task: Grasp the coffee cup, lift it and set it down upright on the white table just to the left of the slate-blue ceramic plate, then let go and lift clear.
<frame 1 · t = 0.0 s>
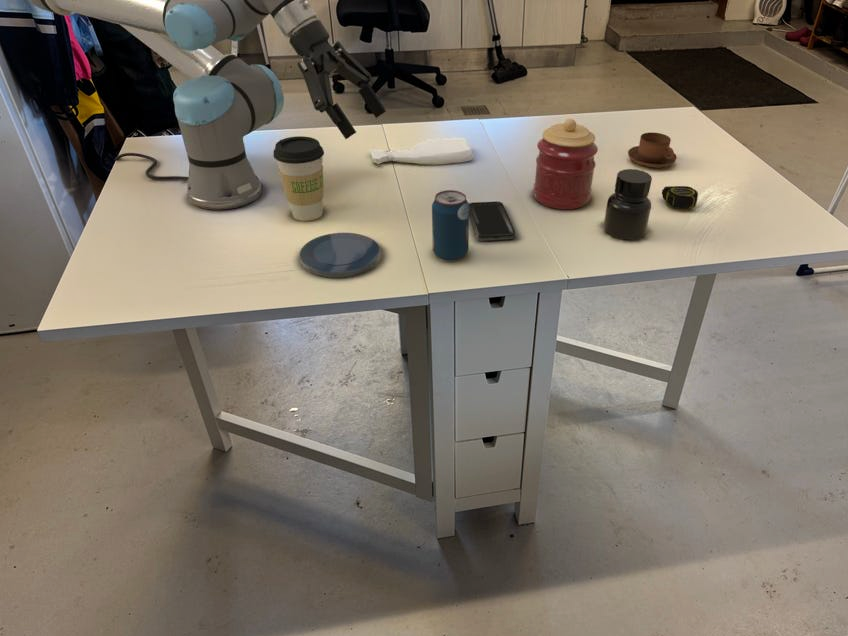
hand: (366, 125, 138), 15 cm above the table, tool tilted 35°, fingers open, 13 cm apart
kitchen canister: (561, 198, 149), on the table
tape measure: (676, 205, 148), on the table
phone: (489, 223, 138), on the table
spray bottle: (421, 158, 164), on the table
ink bottle: (624, 231, 138), on the table
soda can: (450, 255, 128), on the table
cup and saucer: (650, 162, 166), on the table
coffee cup: (307, 214, 139), on the table
plate: (340, 257, 126), on the table
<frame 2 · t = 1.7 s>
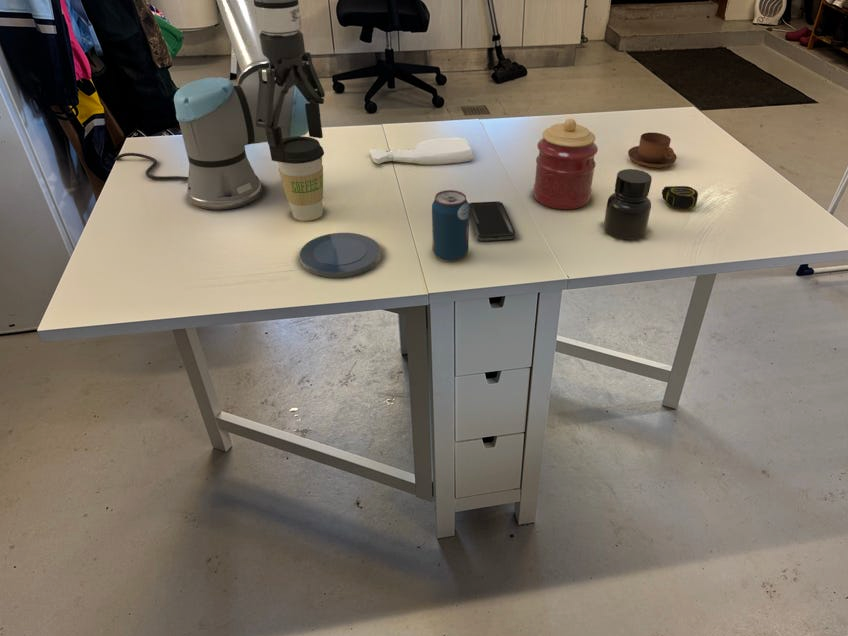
hand: (298, 148, 130), 14 cm above the table, tool pointing down, fingers open, 13 cm apart
nothing on the table moved.
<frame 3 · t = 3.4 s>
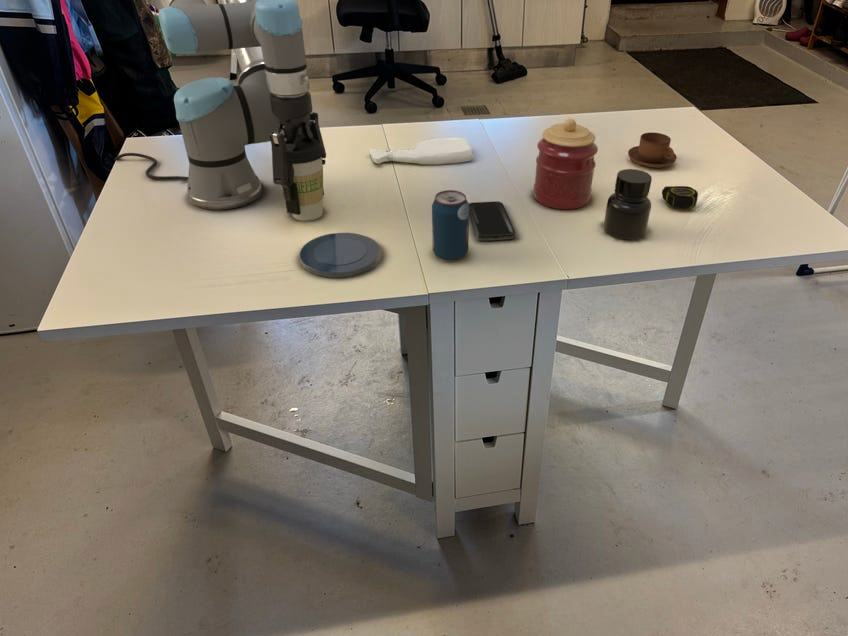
hand: (306, 203, 138), 2 cm above the table, tool pointing down, fingers closed on coffee cup, 9 cm apart
coffee cup: (307, 214, 139), on the table, touching gripper
everything else where it was.
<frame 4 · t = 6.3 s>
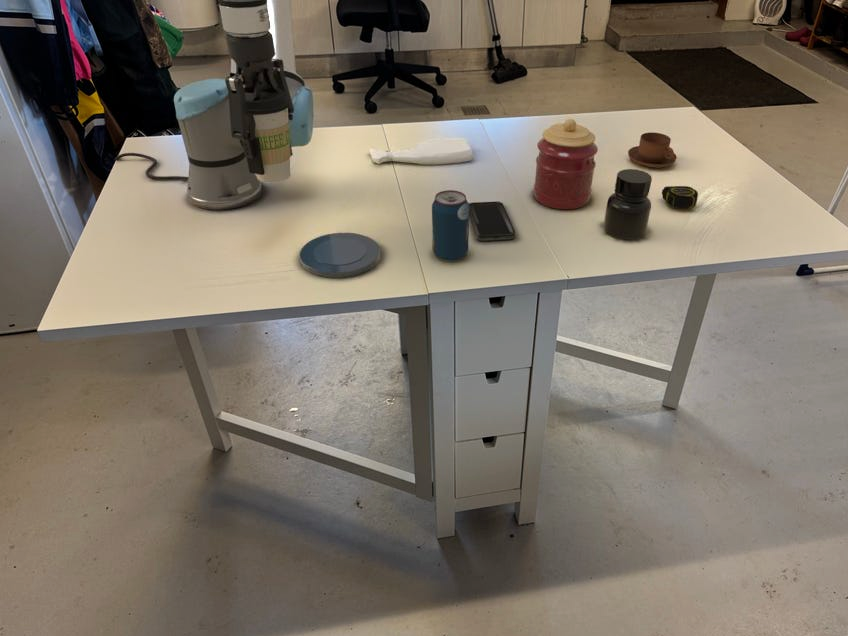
hand: (271, 163, 123), 15 cm above the table, tool pointing down, fingers closed on coffee cup, 9 cm apart
coffee cup: (274, 176, 125), point 12 cm above the table, touching gripper
everything else where it was.
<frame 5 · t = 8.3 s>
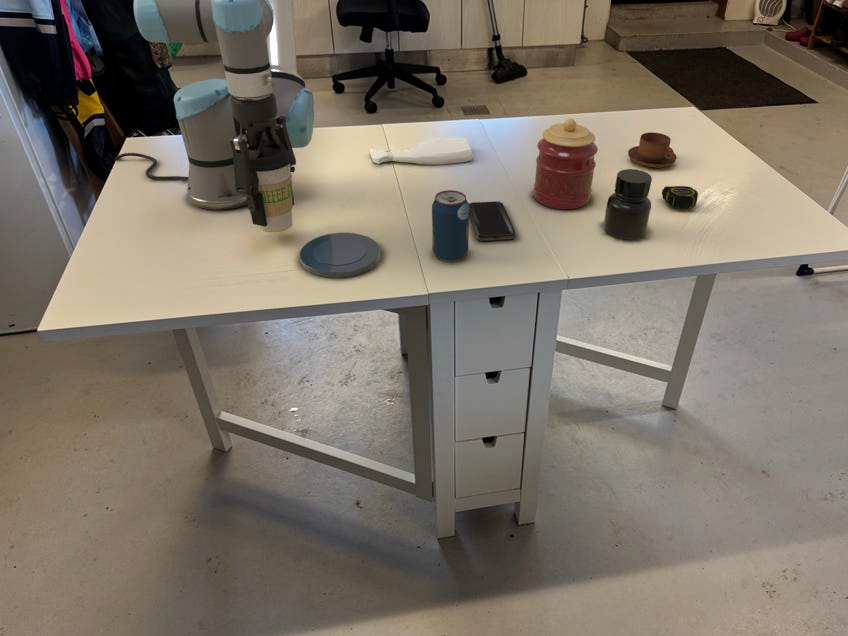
hand: (274, 213, 128), 5 cm above the table, tool pointing down, fingers closed on coffee cup, 9 cm apart
coffee cup: (276, 226, 129), point 3 cm above the table, touching gripper
everything else where it was.
when the fingers open (2 cm above the table, at t = 9.6 s): coffee cup stays where it is, on the table.
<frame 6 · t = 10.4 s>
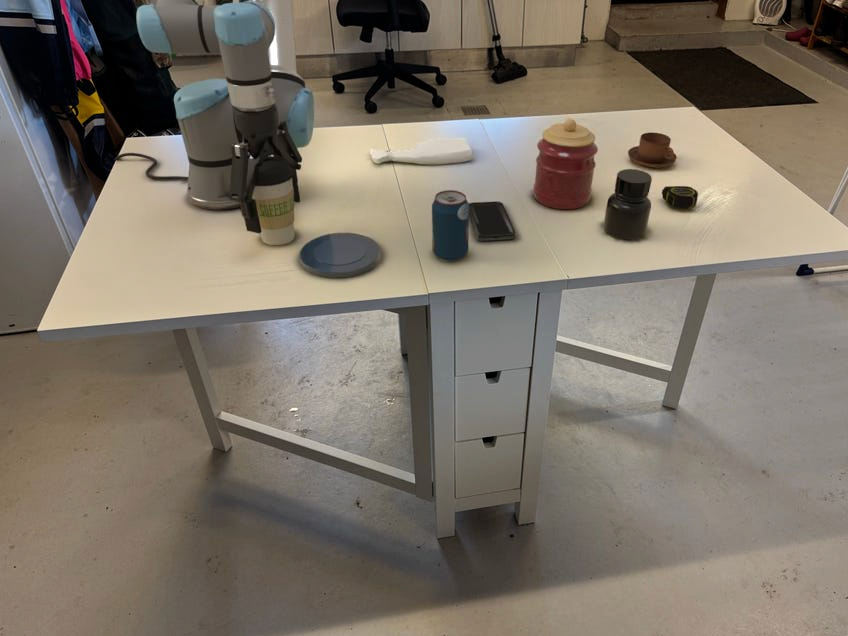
hand: (274, 215, 128), 5 cm above the table, tool pointing down, fingers open, 13 cm apart
coffee cup: (278, 238, 131), on the table
everything else where it was.
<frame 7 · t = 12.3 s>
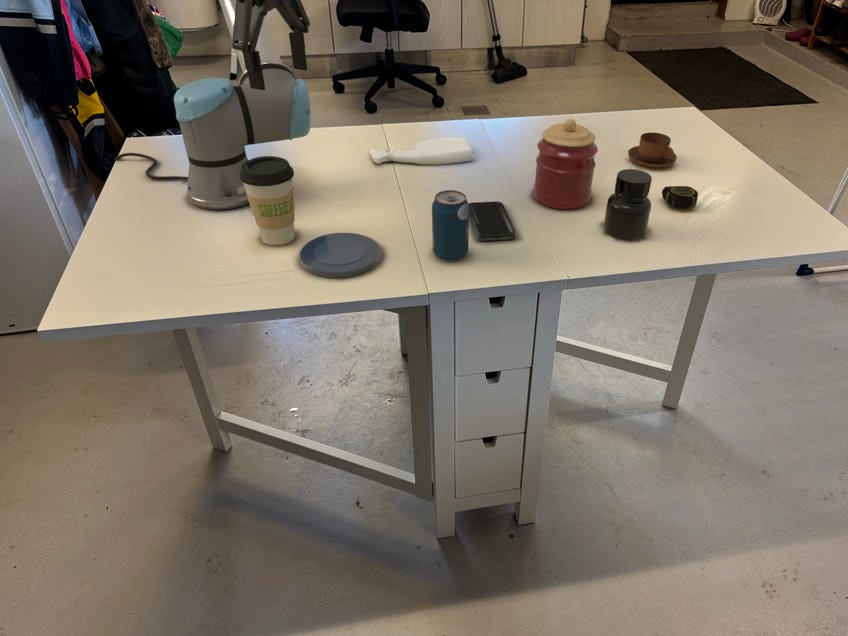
hand: (280, 78, 125), 26 cm above the table, tool pointing down, fingers open, 13 cm apart
nothing on the table moved.
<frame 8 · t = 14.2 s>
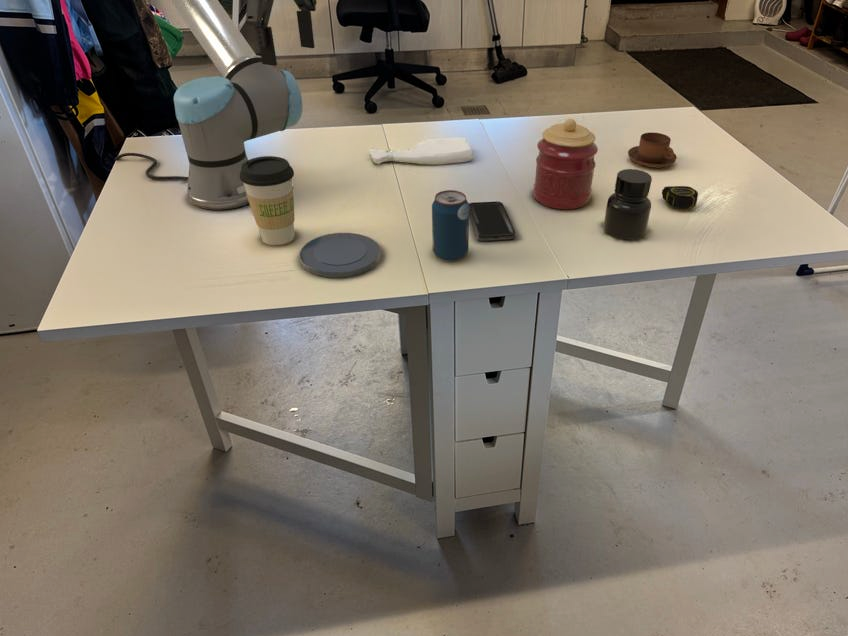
hand: (289, 55, 129), 29 cm above the table, tool pointing down, fingers open, 13 cm apart
nothing on the table moved.
at the end: coffee cup inside the target area (0.1 cm from its centre), on the table; coffee cup tilted 0°; coffee cup 15.1 cm from the plate (horizontally) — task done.
